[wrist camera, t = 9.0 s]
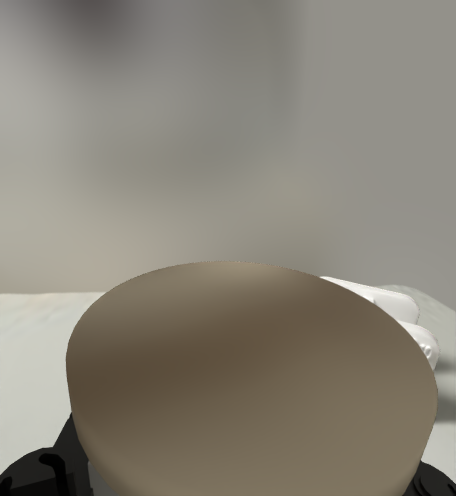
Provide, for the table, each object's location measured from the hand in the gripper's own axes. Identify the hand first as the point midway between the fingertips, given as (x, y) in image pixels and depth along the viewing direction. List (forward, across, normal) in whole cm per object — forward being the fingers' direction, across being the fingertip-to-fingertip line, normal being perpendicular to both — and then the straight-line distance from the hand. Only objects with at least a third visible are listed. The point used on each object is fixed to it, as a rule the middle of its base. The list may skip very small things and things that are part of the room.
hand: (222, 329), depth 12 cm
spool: (-5, 0, -6) cm, 8 cm away
